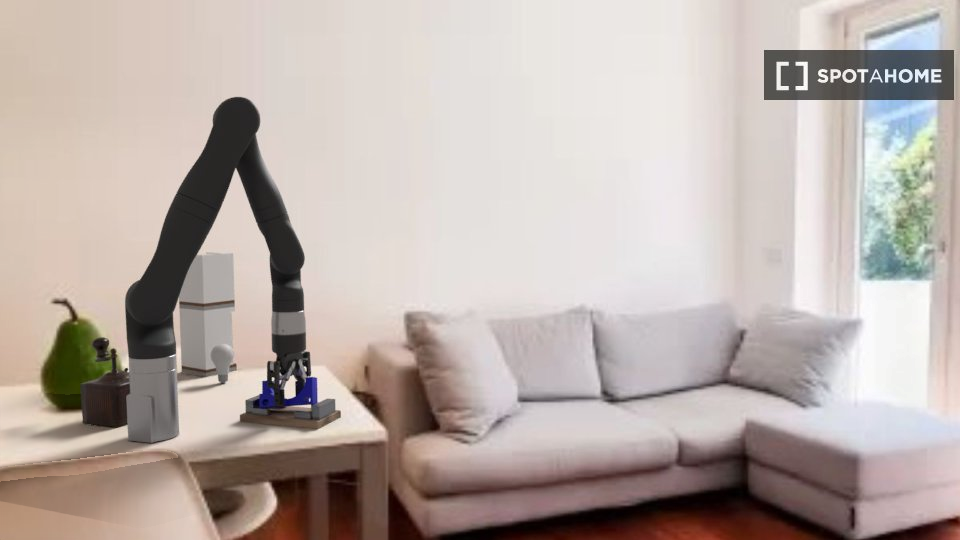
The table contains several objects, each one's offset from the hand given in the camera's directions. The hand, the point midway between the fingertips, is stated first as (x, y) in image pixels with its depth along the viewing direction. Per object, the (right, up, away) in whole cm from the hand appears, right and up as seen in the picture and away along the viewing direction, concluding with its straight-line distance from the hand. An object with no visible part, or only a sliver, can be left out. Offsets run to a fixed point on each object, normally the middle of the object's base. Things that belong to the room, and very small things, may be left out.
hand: (290, 401), depth 172 cm
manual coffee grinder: (-42, -5, +2) cm, 42 cm away
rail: (0, -4, 0) cm, 4 cm away
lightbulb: (-28, -2, +37) cm, 46 cm away
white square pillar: (-37, -1, +53) cm, 65 cm away
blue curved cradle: (0, -1, 0) cm, 1 cm away
